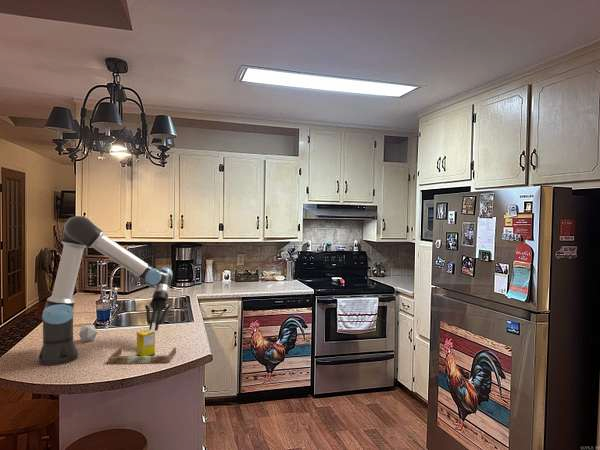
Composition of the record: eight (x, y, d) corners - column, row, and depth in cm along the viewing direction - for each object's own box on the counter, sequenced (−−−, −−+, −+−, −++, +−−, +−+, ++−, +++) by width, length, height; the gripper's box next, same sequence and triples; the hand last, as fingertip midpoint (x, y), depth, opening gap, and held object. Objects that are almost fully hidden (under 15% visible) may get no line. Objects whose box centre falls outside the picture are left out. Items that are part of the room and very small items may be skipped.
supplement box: (148, 352, 192) (148, 329, 192) (155, 355, 188) (155, 331, 188) (136, 355, 188) (136, 332, 187) (143, 358, 184) (143, 334, 183)
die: (98, 338, 215) (87, 324, 215) (103, 333, 209) (92, 318, 209) (83, 348, 208) (72, 333, 209) (88, 343, 203) (77, 327, 203)
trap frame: (108, 363, 178) (108, 357, 178) (119, 353, 190) (119, 348, 190) (169, 362, 179) (169, 356, 179) (176, 352, 192) (176, 347, 192)
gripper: (175, 298, 215) (167, 339, 199) (149, 298, 214) (139, 340, 198) (172, 290, 210) (164, 332, 194) (146, 290, 209) (136, 332, 193)
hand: (152, 336), depth 196 cm, fingers closed
